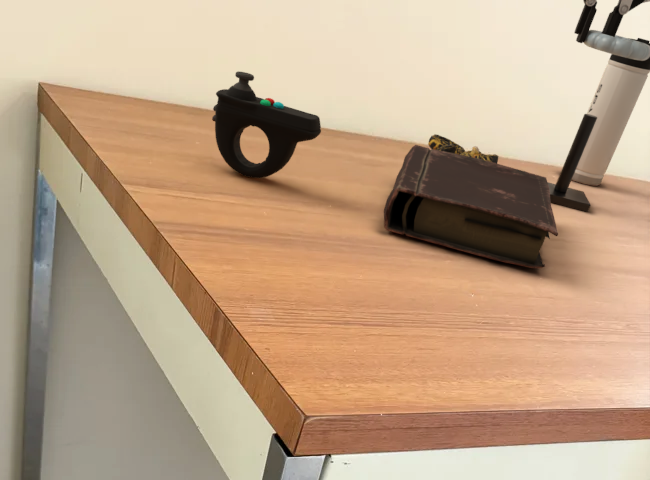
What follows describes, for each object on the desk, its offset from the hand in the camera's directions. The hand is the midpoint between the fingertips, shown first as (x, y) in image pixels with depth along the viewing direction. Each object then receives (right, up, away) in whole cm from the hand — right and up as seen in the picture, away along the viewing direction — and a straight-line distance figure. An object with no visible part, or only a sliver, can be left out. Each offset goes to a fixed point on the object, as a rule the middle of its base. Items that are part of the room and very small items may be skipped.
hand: (590, 43), depth 109 cm
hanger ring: (+3, 0, -1) cm, 3 cm away
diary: (-20, -28, -11) cm, 36 cm away
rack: (-1, -16, +10) cm, 19 cm away
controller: (-45, -24, -13) cm, 52 cm away
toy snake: (-15, -11, +13) cm, 22 cm away
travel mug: (+9, -7, +25) cm, 28 cm away
